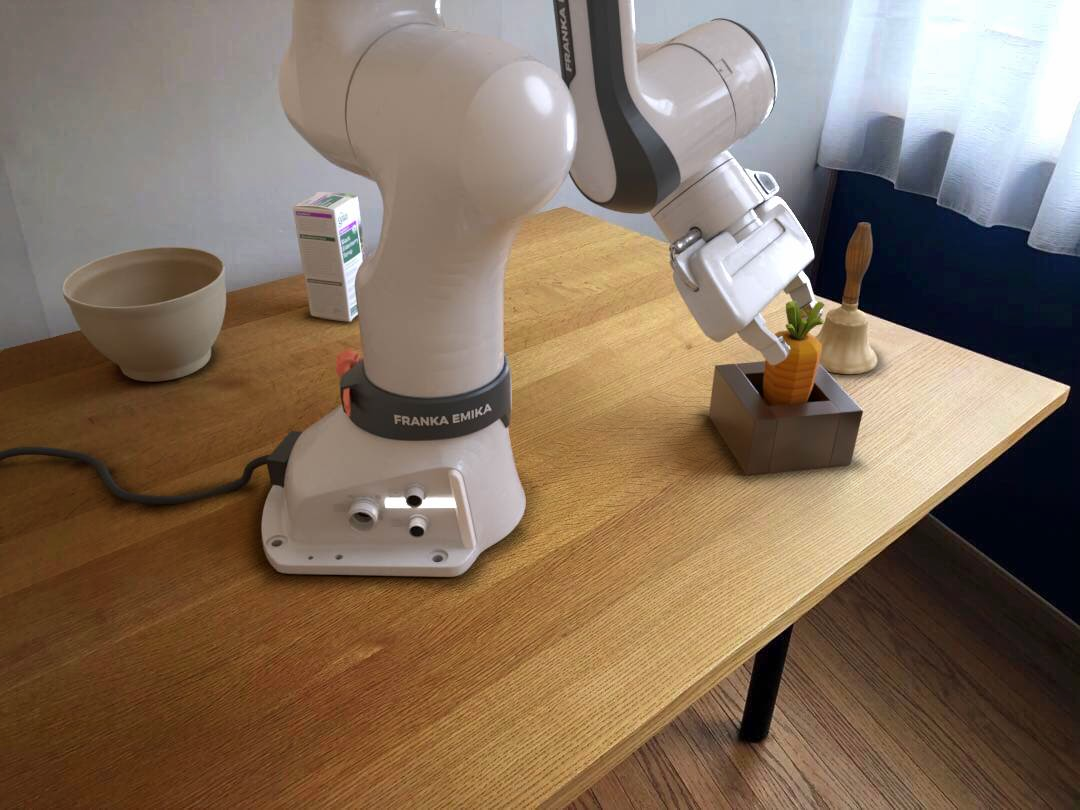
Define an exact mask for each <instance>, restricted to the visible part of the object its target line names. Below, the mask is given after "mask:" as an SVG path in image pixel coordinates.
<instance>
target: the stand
mask: <svg viewBox="0 0 1080 810" xmlns="http://www.w3.org/2000/svg"><path fill="white" fill-rule="evenodd" d="M764 368H765V360H764V361H753V362H751V361H750V362H738V363H727V364H715V365H714V371H713V379H712V388H711V395H710V402H709V411H708V417H709V420H710V421H711V422H712V425H714V427H715V429H716V430H717V431H718V433H719V435H720V436H721V439H722V440H723V441H724V443H725V444H726V446H727V447H728V449H729V451H730V452H731V454H732V455H733V457H734V458H735V460H736V461H737V463H738V465H739V467H740V468H741V470H742V471H743V473H744V474H745V476H751V475H761V474H771V473H781V472H792V471H801V470H810V469H821V468H829V467H839V466H850V465H852V461H853V457H854V452H855V448H856V444H857V439H858V435H859V431H860V426H861V423H862V417H863V414H864V410H863V409H862V408H861V407H860V405H859V404H858V403H857V402H856V401H855V400H854V399H853V398H852V397H851V396H850V395H849V394H848V393H847V392H846V390H845V389H844V388H843V387H842V386H841V385H840V384H839V383H838V382H837V381H836V380H835V379H834V377H833V376H831V375H830V373H829V371H826V370H825V369H824V368H823V367H822V366H821V365H820V364H819V366H818V370H817V374H816V378H815V381H814V385H813V388H812V391H811V393H810V396H809V398H808V401H807V403H797V404H786V405H775V406H769V407H768V405H767V404H766V403H765V401H764V399H763V378H764Z"/></svg>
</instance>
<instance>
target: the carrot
mask: <svg viewBox="0 0 1080 810" xmlns="http://www.w3.org/2000/svg"><path fill="white" fill-rule="evenodd" d="M824 306H825V303H824V302H822V301H818V302H817V304H816V305H815V306H814V307H813V309H812V310H811V312H810V314H809V316H808V318H807V320H806V321H805V320H802V318H801V313H800V310H799V307H798V304H797V302H793V301H792V300H791V301H788V302H786V303H785V313H786V318H787V324H785V329H786V330H781V331H777V332H776V333H774V335H775V336H776V337H777V338H778V337H780V336H782V337H783V338H784V340H785V341H786V344H787V345H788V346H789V347H790V348H791V352H790V354H789V355H788V356H787V358H786V359H785V360H784V361H782V362H780V363H778V364H776V365H770V364H769V363H768V362H767V360H766V359H765V360H764V361H765V368H764V378H763V399H764V401H765V403H766V404H767V405H768V407H769V406H775V405H786V404H797V403H807V401H808V398H809V396H810V393H811V391H812V388H813V385H814V381H815V378H816V374H817V370H818V366H819V362H820V357H821V353H822V344H821V343H820V342H819V341H818V340H817V339H816V338H815V337H816V336H814V335H812V334H811V333H810V331H811V330H812V329H814V328H815V327H817V326H821V325H823V324H824V322H825V319H823V318H822V317H820V318H815V317H816V316H817V314H818V313H819V312H820V310H821V309H822V310H823V308H824Z"/></svg>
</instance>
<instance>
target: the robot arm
mask: <svg viewBox="0 0 1080 810" xmlns="http://www.w3.org/2000/svg"><path fill="white" fill-rule="evenodd" d="M634 3H635V2H634V0H552V6H553V15H554V23H555V31H556V40H557V48H558V49H557V50H558V58H559V66H560V75H559V73H557V71H555V70H554V69H553V68H552V67H550V66H549V65H547V64H545V63H544V62H542V61H540V60H539V59H537V58H535V57H534V56H532V55H530V54H528V53H527V52H525V51H523V50H521V49H520V48H518V47H516V46H514V45H512V44H510V43H509V42H507V41H504V40H503V39H500V38H498V37H494V36H490V35H485V34H479V33H474V32H470V31H464V30H459V29H454V28H448V27H446V24H445V20H444V17H443V11H442V0H291V39H290V42H289V44H288V46H287V47H286V50H285V51H284V54H283V56H282V59H281V61H280V62H281V63H280V67H279V72H278V93H279V94H278V95H279V100H280V104H281V107H282V110H283V113H284V115H285V117H286V118H287V121H288V122H289V124H290V125H291V127H292V129H294V130H295V132H296V133H297V134H299V136H301V138H302V139H303V140H304V141H306V143H308V145H309V146H310V147H311V148H312V149H314V150H315V151H316V152H317V153H318V154H319V155H321V156H322V157H323V158H324V159H325V160H327V161H328V162H329V163H330V164H332V165H333V166H336V167H338V168H340V169H342V170H345V171H347V172H350V173H352V174H354V175H357V176H359V177H361V178H364V179H366V180H368V181H371V182H373V183H375V184H376V186H377V188H378V191H379V192H380V196H381V200H382V201H381V202H382V209H383V210H382V221H381V229H380V234H379V240H378V244H377V247H376V248H375V249H374V250H373V251H371V253H369V254H368V255H367V256H365V257H366V258H365V259H364V261H363V262H362V263H361V265H360V267H359V269H358V271H357V274H356V278H355V294H356V302H357V311H358V315H357V318H358V327H359V334H360V343H361V352H362V358H360V357H361V356H360V354H359V353H357V351H356V350H354V349H353V350H352V349H345V350H344V349H343V350H341V351H340V352H339V353H338V355H337V356H336V357H335V359H336V360H335V365H336V366H335V373H336V375H337V377H338V378H340V379H339V394H340V402H341V404H339V405H338V406H337V407H335V408H334V409H333V410H331V411H329V412H328V413H326V414H325V415H324V416H322V417H321V418H320V419H318V420H317V421H316V422H314V423H312V424H311V425H310V426H308V427H307V428H305V429H304V430H303V431H297V430H291V431H290V432H289V433H288V434H287V435H286V436H285V437H284V438H283V440H282V441H280V443H278V445H277V446H276V448H275V449H274V450H272V452H271V453H269V454H265V455H261V456H258V457H256V458H254V459H252V460H251V461H249V462H248V463H247V464H246V465H245V467H244V469H243V473H242V475H241V477H240V478H238V479H235V480H234V481H232V482H230V483H227V484H225V485H222V486H220V487H218V488H215V489H210V490H207V491H203V492H198V493H192V494H184V495H183V494H182V495H151V494H143V493H142V494H141V493H134V492H130V491H127V490H125V489H123V488H122V487H120V486H118V485H117V484H116V482H115V481H114V479H113V477H112V474H110V471H109V470H108V468H107V466H106V465H105V464H104V463H103V461H101V460H100V459H98V458H97V457H95V456H94V455H91V454H87V453H85V452H81V451H80V452H79V451H76V450H75V451H74V450H69V449H63V448H58V447H48V446H20V447H19V446H18V447H12V448H8V449H4V450H1V451H0V462H1V461H4V459H8V458H13V457H17V456H47V457H56V458H61V459H68V460H74V461H79V462H81V463H82V462H83V463H86V464H88V465H90V466H91V467H93V468H94V469H95V470H96V471H97V473H98V475H99V476H100V477H101V480H102V482H103V484H104V486H105V487H106V489H107V490H108V491H109V492H110V493H111V494H112V495H114V496H115V497H116V498H118V499H120V500H123V501H126V502H130V503H135V504H143V505H144V504H145V505H156V506H157V505H158V506H164V505H165V506H173V505H180V504H186V503H190V502H195V501H199V500H202V499H206V498H209V497H214V496H219V495H222V494H227V493H232V492H236V491H237V490H239V489H241V488H243V487H244V486H246V485H247V484H248V483H249V482H250V481H251V479H252V477H253V473H254V471H255V470H256V469H257V468H259V467H262V466H264V465H266V468H267V472H268V477H269V482H270V485H271V486H272V487H271V488H270V490H269V491H268V494H267V497H266V499H265V502H264V505H263V510H262V515H261V529H260V530H261V543H262V549H263V552H264V555H265V558H266V559H267V561H268V563H269V564H270V565H271V566H272V567H273V568H274V570H276V572H278V573H280V574H286V575H287V574H288V575H289V574H290V575H291V574H292V575H326V576H327V575H331V576H332V575H335V576H336V575H337V576H383V577H432V578H434V577H436V578H437V577H438V578H439V577H440V578H453V577H458V576H461V575H463V574H464V573H465V572H467V571H468V570H469V569H470V568H471V566H472V565H473V564H474V562H476V560H477V558H478V557H479V556H480V554H481V553H483V552H484V551H485V550H487V549H488V548H490V547H492V546H494V545H495V544H497V543H498V542H500V541H501V540H503V539H505V538H506V537H507V536H508V535H509V534H510V533H512V532H513V531H514V529H516V527H517V526H518V525H519V523H520V521H521V520H522V518H523V516H524V514H525V511H526V506H527V498H526V493H525V490H524V487H523V485H522V483H521V479H520V477H519V473H518V470H517V465H516V462H515V457H514V453H513V448H512V442H511V435H510V428H509V426H510V424H511V414H512V412H513V381H512V380H513V379H512V370H511V368H510V367H511V366H510V363H509V360H508V355H507V353H506V352H505V285H506V282H505V281H506V274H507V268H508V267H507V266H508V262H509V259H510V255H511V252H512V249H513V246H514V242H515V240H516V238H517V236H518V233H519V231H520V230H521V228H522V226H523V224H524V223H525V222H526V220H527V219H529V218H530V217H531V216H533V215H534V214H535V213H537V212H539V211H540V210H541V209H543V208H544V207H546V205H547V204H549V202H550V201H551V200H552V199H553V198H554V197H555V195H556V194H557V193H558V191H559V190H560V189H561V187H562V186H563V184H564V182H565V180H566V179H567V177H568V175H569V177H570V179H571V181H572V183H573V184H574V186H575V188H576V189H577V190H578V191H579V192H580V194H582V196H583V197H585V198H586V199H587V200H588V201H589V202H591V203H592V204H595V205H597V206H599V207H601V208H603V209H606V210H608V211H609V210H610V211H613V212H617V213H623V214H633V215H644V214H650V216H651V218H652V219H653V222H654V223H655V224H656V225H657V227H658V229H660V231H661V233H662V234H663V235H664V236H665V238H666V240H667V241H668V243H669V248H668V251H669V259H670V260H669V265H670V268H671V270H672V277H673V281H674V285H675V287H676V289H677V291H678V293H679V295H680V297H681V299H682V300H683V302H684V304H685V306H686V307H687V309H688V310H689V312H690V314H691V316H692V317H693V319H694V320H695V322H696V323H697V325H698V327H699V328H700V330H701V331H702V333H703V334H704V335H705V336H706V337H707V338H708V339H710V340H711V341H713V342H715V343H722V342H724V341H725V340H727V339H729V338H731V337H733V336H734V335H735V334H738V336H739V338H740V339H741V340H742V341H743V342H744V343H746V344H747V345H749V346H750V347H751V348H754V349H755V350H757V351H758V352H760V353H761V356H763V358H764V359H765V360H767V362H768V363H769V364H770V365H776V364H778V363H780V362H782V361H784V360H785V359H786V358H787V356H788V355H789V354H790V352H791V348H790V347H789V346H788V345H787V344H786V341H785V340H784V338H783V337H782V336H780V337H778V338H777V337H776V336H775V333H773V332H772V331H771V330H770V329H769V328H767V327H766V325H767V321H766V319H765V318H764V317H763V316H762V314H761V312H762V311H763V310H765V308H766V307H767V306H768V305H770V303H771V302H772V301H773V300H775V298H776V297H777V296H778V295H780V293H781V292H782V291H783V293H784V294H785V295H789V297H790V298H791V301H793V302H797V304H798V307H799V310H800V313H801V318H802V320H805V321H806V320H807V318H808V316H809V314H810V312H811V310H812V309H813V307H814V306H815V305H816V304H817V303H818V302H817V300H816V299H815V294H814V291H813V288H812V284H811V282H810V281H811V280H810V279H809V277H808V276H807V275H806V274H805V271H804V270H805V268H806V267H807V266H808V265H810V264H811V262H812V261H814V259H815V252H814V248H813V244H812V243H811V240H810V238H809V237H808V235H807V233H806V232H805V230H804V229H803V227H802V225H801V224H800V222H799V221H798V219H797V218H796V216H795V214H794V213H793V212H792V210H791V209H790V207H789V206H788V205H787V203H786V202H785V201H784V200H783V199H782V198H781V197H779V196H778V195H777V196H776V194H777V193H778V192H779V190H780V187H779V185H778V183H777V181H776V179H775V178H774V177H773V176H772V175H771V174H770V173H769V172H766V171H758V170H757V171H756V170H752V169H748V168H746V167H742V166H741V165H740V164H739V162H738V161H737V160H736V158H735V157H734V156H733V154H731V153H730V152H729V150H730V149H732V148H734V146H736V145H737V144H739V143H740V142H741V141H743V140H745V139H746V138H747V137H748V136H750V135H751V134H752V133H754V132H755V131H756V130H757V129H759V127H760V126H761V125H762V124H763V122H765V120H766V119H767V118H768V117H770V115H771V113H772V112H773V110H774V107H775V104H776V99H777V95H778V78H777V73H776V72H777V71H776V68H775V65H774V61H773V59H772V57H771V55H770V53H769V51H768V50H767V48H766V46H765V45H764V43H763V42H762V41H761V40H760V38H759V37H758V36H757V35H756V34H755V33H754V32H753V31H752V30H750V29H749V28H748V27H746V26H745V25H743V24H742V23H739V22H737V21H734V20H731V19H728V18H722V17H721V18H720V17H719V18H714V19H711V20H710V21H707V22H704V23H701V24H699V25H696V26H694V27H692V28H690V29H688V30H686V31H684V32H682V33H680V34H678V35H676V36H674V37H671V38H669V39H666V40H663V41H659V42H656V43H648V42H644V41H637V36H636V35H637V34H636V22H635V5H634ZM823 315H824V311H823V308H822V309H821V310H820V312H819V313H818V314H817V316H816V317H815V318H822V316H823Z"/></svg>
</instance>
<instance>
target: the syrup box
mask: <svg viewBox="0 0 1080 810" xmlns="http://www.w3.org/2000/svg"><path fill="white" fill-rule="evenodd" d="M292 211H293V217H294V224H295V229H296V236H297V243H298V247H299V248H298V249H299V253H300V261H301V265H302V271H303V277H304V282H305V288H306V294H307V300H308V307H309V312H310V316H312V317H316V318H319V319H325V320H333V321H340V322H347V323H351V322H352V321H353V319H354V318H355V317H358V311H357V302H356V294H355V278H356V274H357V271H358V269H359V267H360V265H361V263H362V262H363V261H364V259H365V258H366V257H367V256H366V251H365V243H364V235H363V226H362V218H361V211H360V203H359V196H357V195H353V194H350V193H344V192H333V191H317V192H315V193H314V195H312V196H311V197H309V198H307V199H305V200H303V201H301V202H299V203H297V204H295V205H294V206H292Z"/></svg>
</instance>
